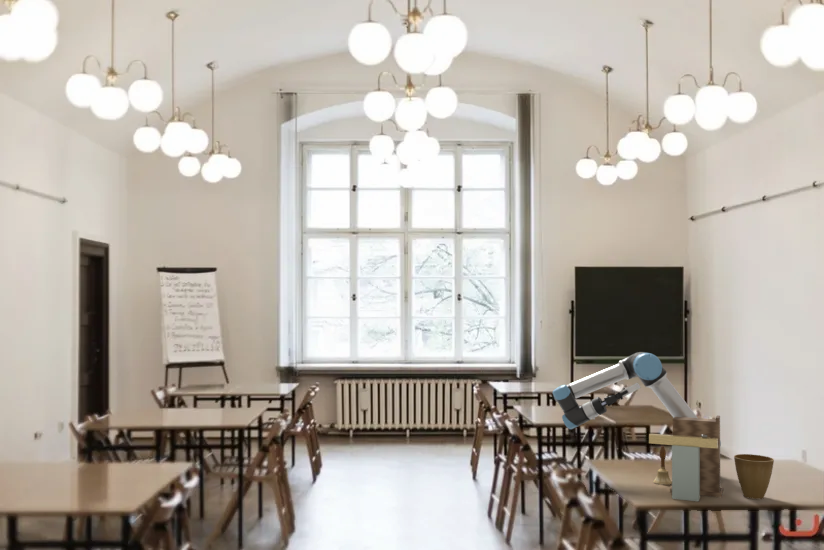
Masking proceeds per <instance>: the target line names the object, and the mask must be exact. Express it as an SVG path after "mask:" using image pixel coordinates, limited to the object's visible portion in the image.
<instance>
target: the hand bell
mask: <svg viewBox="0 0 824 550" xmlns="http://www.w3.org/2000/svg"><path fill="white" fill-rule="evenodd" d="M659 449H660V450H659V458H660V468H659V469H658V470H657V474H656V476H655V479H653V481H652V483H653V484H655V483H656V485H660V484H663V486H671V485H672V479H671V477H670V475H669V470H667V469H666V464H665V461H666V455H667V453H666V448H665V446H664V445H661V446H660V448H659ZM670 484H671V485H670Z"/></svg>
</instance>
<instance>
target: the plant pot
mask: <svg viewBox="0 0 824 550" xmlns="http://www.w3.org/2000/svg"><path fill="white" fill-rule="evenodd" d="M733 459H734V465H735V471H736V476H737V479H738V483H739V487H740V488H741V492H742V495H743V496H744V498H747V499H752V500H753V499H754V500H762V498H763V499H764V497H765V496H766V493H767V490H768V488H769V485H770V481H771V477H772V474H773V468H774V462H775V458H773V457H769V456H766V455H760V454H753V453H749V454H748V453H740V454H735V455H734V456H733Z"/></svg>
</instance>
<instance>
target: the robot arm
mask: <svg viewBox="0 0 824 550" xmlns="http://www.w3.org/2000/svg"><path fill="white" fill-rule="evenodd" d="M667 375H668V372H667V371H666V369H665V367H664V366H663V364H662V361H661V360H660V358H659V357H658V356H657V355H655V354H653V353H650V352H645V351H639V352H638V351H637V352H635V353H633V354H631V355H628V356H627V357H625V358H623V359H620V360H619V361H618V363H616V364H615V365H612V366H610V367H607V368H605V369H602V370H600V371H597V372H595V373H592V374H590V375H588V376H585V377H583V378H580V379H578V380H575V381H573V382H571V383H568V384H562V385H559V386H558V387H556V388H555V389H553V390H552V395H553V399H554V401H555V402H556V403H557V404H558V405H559V407H560V408H561V410H562V412H563V415H562V416H561V419H562V421H563V424H564V425H565V427H566V428H568V430H573V429H576V428H577V427H578V428H579V426H582V425H583V424H585V423H586V424H587V422H589V421H592V420H596V418H597V417H599V416H600V415H603V414H605V413H607V411H608V410H607V409H608V408H607V407H610V406H611V405H613V404H614V403H615V402H617V401H618V400H623V399H624V397H627V396H628V395H630V394H632V393H635V392H636V391H637V390H639V389H641V388H642V387H641V385H640V384H639V382H636V383H634V384H632V385H630V386H628V387H626V388H625V387H623V388H622V390H620V391H619V392H616V393H615V394H611V395H609V396H606V397H604V398H603V399H602V398H601V396H598V397H595V398H593V399H591V400H589V401H587V402H586V403H585V402H584V403H582V405H579V403H578V402H577V400H576V399H578V398H580V397H583V396H585V395H588V394H590V393H593V392H596V391H598V390H600V389H603V388H606V387H607V386H610V385H613V384H615V383H617V382H620V381H622V380H627V381H628V380H631V379H635V378H638V380H640V382H641V383H642V384H643V385H644V387H645V388H648V389H651V390H652V392H653V393H654V394H655V396H656V397H657V398H658V400H659V401H660V402H661V403H662V404H663V406H664V407H665V409H666V410H667V411H668V413H669V414H670V415H671V417H672V419H673V418H674V417H690V418H699V417H698V416H697V414H696V413H695V412H694V411H693V410H692V408H691V407H690V406H689V405H688V403H687V402H686V401H685V399H684V398H683V396H682V395H681V394H680V393H679V392H678V390H677V389H676V388H675V386H674V385H673V383H672V382H671V381H670V380H669V378H668V377H667ZM721 445H722V442H721V440H720V447H721Z"/></svg>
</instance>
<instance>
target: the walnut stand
mask: <svg viewBox="0 0 824 550" xmlns="http://www.w3.org/2000/svg"><path fill="white" fill-rule="evenodd" d="M702 434H704V435H707V438H718V448H704V447H700V496H701V497H702V496H703V497H713V498H723V494H724V487H721V446H720V441H721V416H720V415H716V417H715V418H704V417H698V418H690V417H674V418H673V417H672V435H678V436H693V437H701V435H702ZM671 492H672V485H670V488H669V493H671Z"/></svg>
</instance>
